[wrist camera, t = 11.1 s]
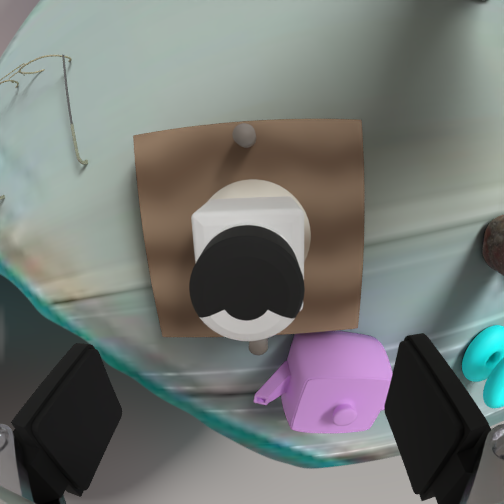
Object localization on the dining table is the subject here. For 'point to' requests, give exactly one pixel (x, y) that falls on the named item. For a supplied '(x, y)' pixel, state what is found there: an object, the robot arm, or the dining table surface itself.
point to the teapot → (331, 382)
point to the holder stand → (256, 185)
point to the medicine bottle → (248, 265)
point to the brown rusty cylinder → (494, 244)
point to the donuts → (487, 364)
